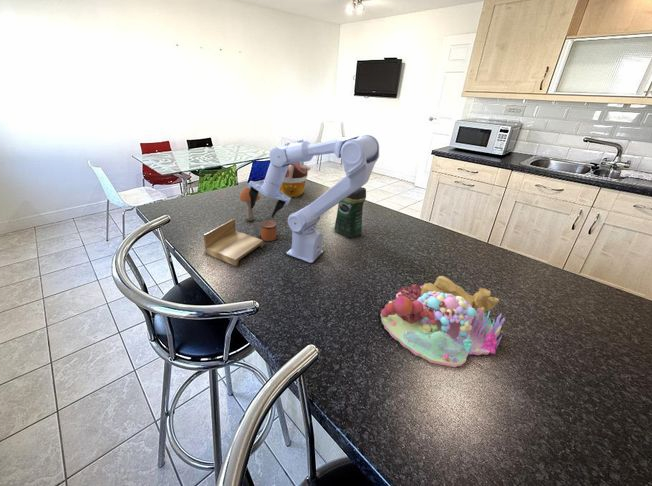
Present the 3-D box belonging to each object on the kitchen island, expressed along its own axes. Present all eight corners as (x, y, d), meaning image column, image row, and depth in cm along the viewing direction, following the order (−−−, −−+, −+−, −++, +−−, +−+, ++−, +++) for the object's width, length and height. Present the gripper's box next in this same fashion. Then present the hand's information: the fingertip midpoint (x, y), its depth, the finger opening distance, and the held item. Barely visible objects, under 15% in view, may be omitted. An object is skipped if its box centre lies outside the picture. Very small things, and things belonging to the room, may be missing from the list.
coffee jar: (364, 233, 109) (371, 186, 102) (351, 240, 105) (357, 191, 97) (343, 224, 116) (349, 179, 108) (330, 230, 111) (335, 183, 103)
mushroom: (250, 227, 112) (249, 190, 106) (236, 221, 117) (234, 185, 110) (264, 219, 118) (264, 184, 112) (250, 214, 122) (248, 180, 116)
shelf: (263, 246, 100) (263, 228, 97) (235, 266, 89) (234, 246, 86) (234, 235, 106) (233, 218, 103) (205, 253, 95) (203, 234, 92)
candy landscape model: (406, 278, 85) (412, 251, 81) (503, 317, 72) (516, 287, 68) (369, 329, 67) (374, 298, 63) (488, 395, 54) (505, 360, 50)
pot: (279, 236, 106) (279, 222, 104) (270, 243, 102) (270, 229, 99) (266, 232, 109) (266, 218, 107) (257, 238, 104) (257, 224, 102)
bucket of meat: (315, 193, 146) (318, 153, 138) (295, 203, 134) (297, 160, 126) (284, 184, 157) (285, 147, 149) (263, 192, 146) (263, 153, 137)
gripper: (297, 182, 97) (284, 212, 105) (257, 165, 97) (247, 197, 105) (292, 193, 92) (279, 224, 100) (250, 175, 92) (240, 207, 100)
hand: (262, 211), depth 102 cm, fingers open, 7 cm apart
